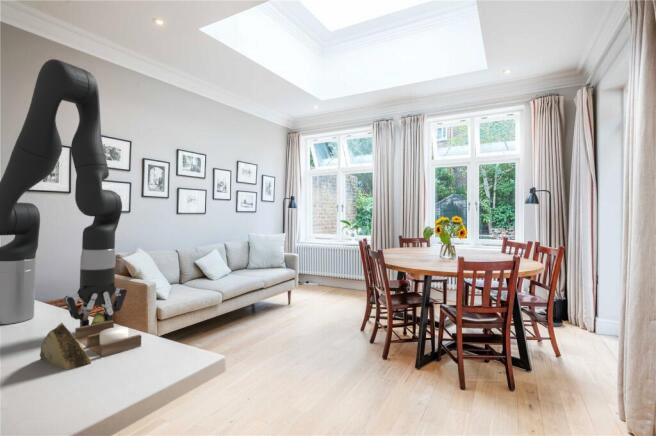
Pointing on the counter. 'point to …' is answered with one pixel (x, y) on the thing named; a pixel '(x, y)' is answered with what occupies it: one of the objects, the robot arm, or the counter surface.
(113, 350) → the rack
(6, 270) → the robot arm
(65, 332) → the rock
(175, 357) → the counter surface
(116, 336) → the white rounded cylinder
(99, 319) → the lime
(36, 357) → the counter surface
